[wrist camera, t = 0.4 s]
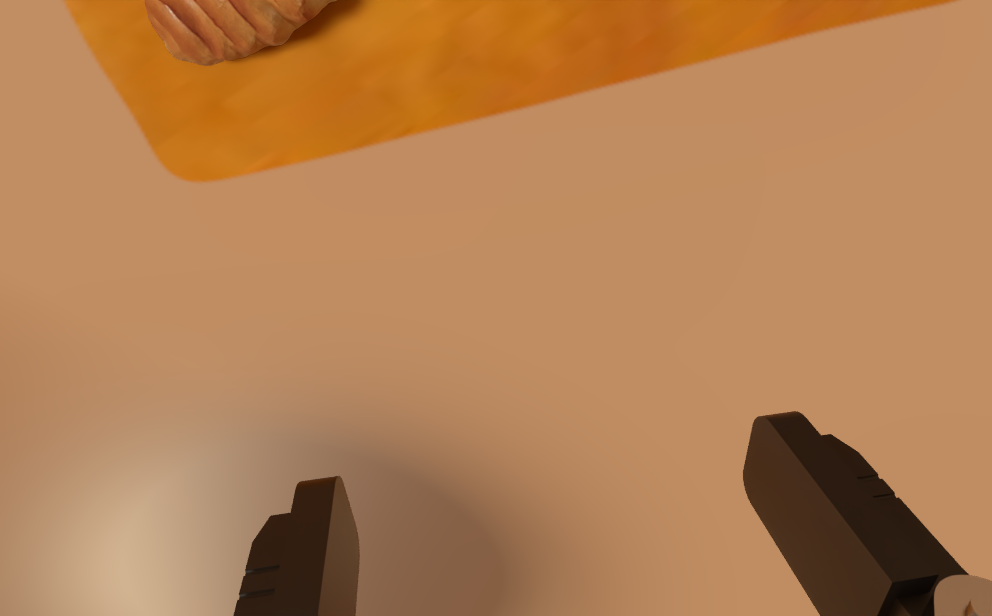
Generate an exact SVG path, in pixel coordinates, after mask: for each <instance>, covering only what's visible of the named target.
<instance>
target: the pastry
mask: <svg viewBox="0 0 992 616" xmlns="http://www.w3.org/2000/svg"><path fill="white" fill-rule="evenodd" d="M334 1H337V0H145V5H146V9H147V13H148V17H149V20H150V22H151V24H152V26H153V28H154V29H155V31H156V32H157V33H158V35H159V36H160V37H161V39H162V40H163V41H164V43H165V45H166V48H167V49H168V51H169V52H170V53H171V54H172V55H173V57H175V58H176V59H179V60H182V61H188V62H191V63H196V64H199V65H204V66H210V65H214V64H217V63H220V62H223V61H225V60H234V59H236V58H244V57H246V56H249V55H251V54H253V53H255V52H257V51H259V50H260V49H262V48H265V47H267V46H271V45H274V46H278V45H283V44H284V43H285V42H286V41H287V40H288V39H289V38H290V36H291V34H292V33H293V31H295V30H296V29H298V28H299V27H301V26H302V25H303V24H305V23H306V22H308V21H310V20H312V19H313V18H314V17H315V16H316V15H318V14H319V13H320V11H321V10H322V9H323V8H324V7H325V6H327V5H328V4H329V3H331V2H334Z"/></svg>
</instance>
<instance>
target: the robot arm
mask: <svg viewBox="0 0 992 616" xmlns="http://www.w3.org/2000/svg"><path fill="white" fill-rule="evenodd" d="M743 481H744V486H745V490H746V493H747V496H748V499H749V500H750V503H751V504H752V506H753V508H754V509H755V511H756V512H757V514H758V516H759V517H760V519H761V521H762V522H763V524H764V525H765V527H766V529H767V530H768V532H769V533H770V535H771V537H772V538H773V540H774V541H775V543H776V545H777V546H778V548H779V550H780V551H781V553H782V555H783V556H784V558H785V559H786V561H787V563H788V564H789V566H790V567H791V569H792V571H793V572H794V574H795V575H796V577H797V579H798V580H799V582H800V584H801V585H802V587H803V588H804V590H805V592H806V593H807V595H808V597H809V598H810V600H811V601H812V603H813V605H814V606H815V608H816V609H817V611H818V613H819V614H820V616H992V581H990V580H987V579H984V578H980V577H977V576H970V575H969V574H968V573H967V572H966V571H965V570H964V569H963V568H961V566H960V565H959V564H958V563H957V562H956V561H955V560H954V558H953V557H952V556H951V555H950V554H949V553H948V552H947V551H946V550H945V549H944V547H943V546H942V545H941V544H940V543H939V542H938V541H937V539H936V538H935V537H934V536H933V535H932V534H931V533H930V532H929V531H928V529H927V528H926V527H925V526H924V525H923V524H922V523H921V522H920V520H919V519H918V518H917V517H916V516H915V515H914V514H913V513H912V512H911V510H910V509H909V508H908V507H907V506H906V505H905V504H904V503H903V501H902V500H901V499H900V498H896V497H895V493H894V491H893V490H892V489H891V488H890V487H889V486H888V485H887V484H886V482H885V481H884V480H883V479H879V477H878V474H877V472H876V471H875V470H874V469H873V468H872V467H871V466H870V465H869V464H868V463H867V461H866V460H865V459H864V458H863V457H862V456H861V455H860V454H859V452H857V451H856V450H854V449H853V448H851V447H850V446H848V445H847V444H845V443H843V442H842V441H840V440H839V439H837V438H836V437H834V436H833V435H831V434H828V435H820V434H819V433H818V431H816V429H815V428H814V427H813V425H812V424H811V423H810V422H809V421H808V420H807V418H806V417H805V416H804V415H802V414H801V413H799V412H796V411H794V412H787V413H780V414H773V415H766V416H759V417H757V418H756V419H755V420H754V423H753V427H752V432H751V436H750V441H749V446H748V450H747V455H746V460H745V465H744V470H743ZM359 557H360V556H359V539H358V532H357V528H356V524H355V521H354V517H353V514H352V511H351V507H350V504H349V501H348V497H347V494H346V490H345V487H344V484H343V481H342V478H341V477H340V476H335V477H329V478H322V479H315V480H308V481H301V482H299V483H298V484H297V487H296V490H295V494H294V499H293V504H292V509H291V513H286V514H279V515H273V516H270V517H269V519H268V521H267V522H266V523H265V525H264V526H263V528H262V529H261V531H260V532H259V533H258V535H257V536H256V538H255V539H254V541H253V542H252V547H251V550H250V554H249V558H248V562H247V565H246V569H245V571H246V575H245V576H244V577H243V581H242V585H241V589H240V593H239V595H240V598H239V600H238V601H237V604H236V608H235V612H234V616H355V613H356V599H357V586H358V574H359Z"/></svg>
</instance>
